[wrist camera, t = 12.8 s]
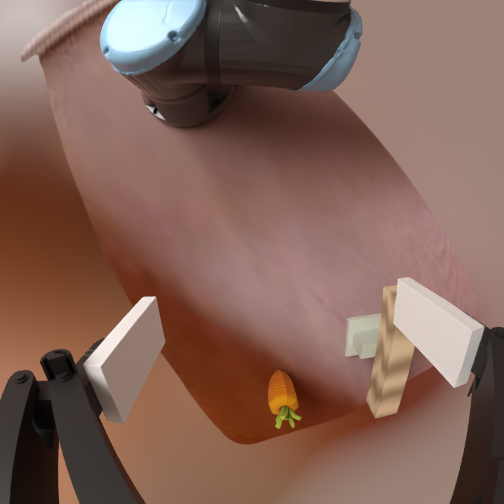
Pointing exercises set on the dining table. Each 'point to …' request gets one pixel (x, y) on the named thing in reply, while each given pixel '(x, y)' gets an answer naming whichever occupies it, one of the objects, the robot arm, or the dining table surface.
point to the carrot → (282, 398)
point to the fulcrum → (362, 336)
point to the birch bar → (389, 361)
